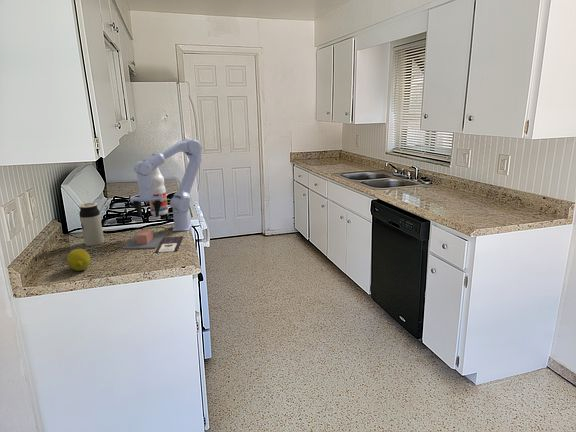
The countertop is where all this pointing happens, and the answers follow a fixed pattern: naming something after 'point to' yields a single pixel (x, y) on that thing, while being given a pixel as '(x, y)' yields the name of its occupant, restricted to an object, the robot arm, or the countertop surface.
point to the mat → (150, 245)
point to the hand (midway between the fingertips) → (149, 216)
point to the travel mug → (91, 224)
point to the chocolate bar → (169, 244)
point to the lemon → (78, 259)
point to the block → (144, 236)
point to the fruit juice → (158, 191)
